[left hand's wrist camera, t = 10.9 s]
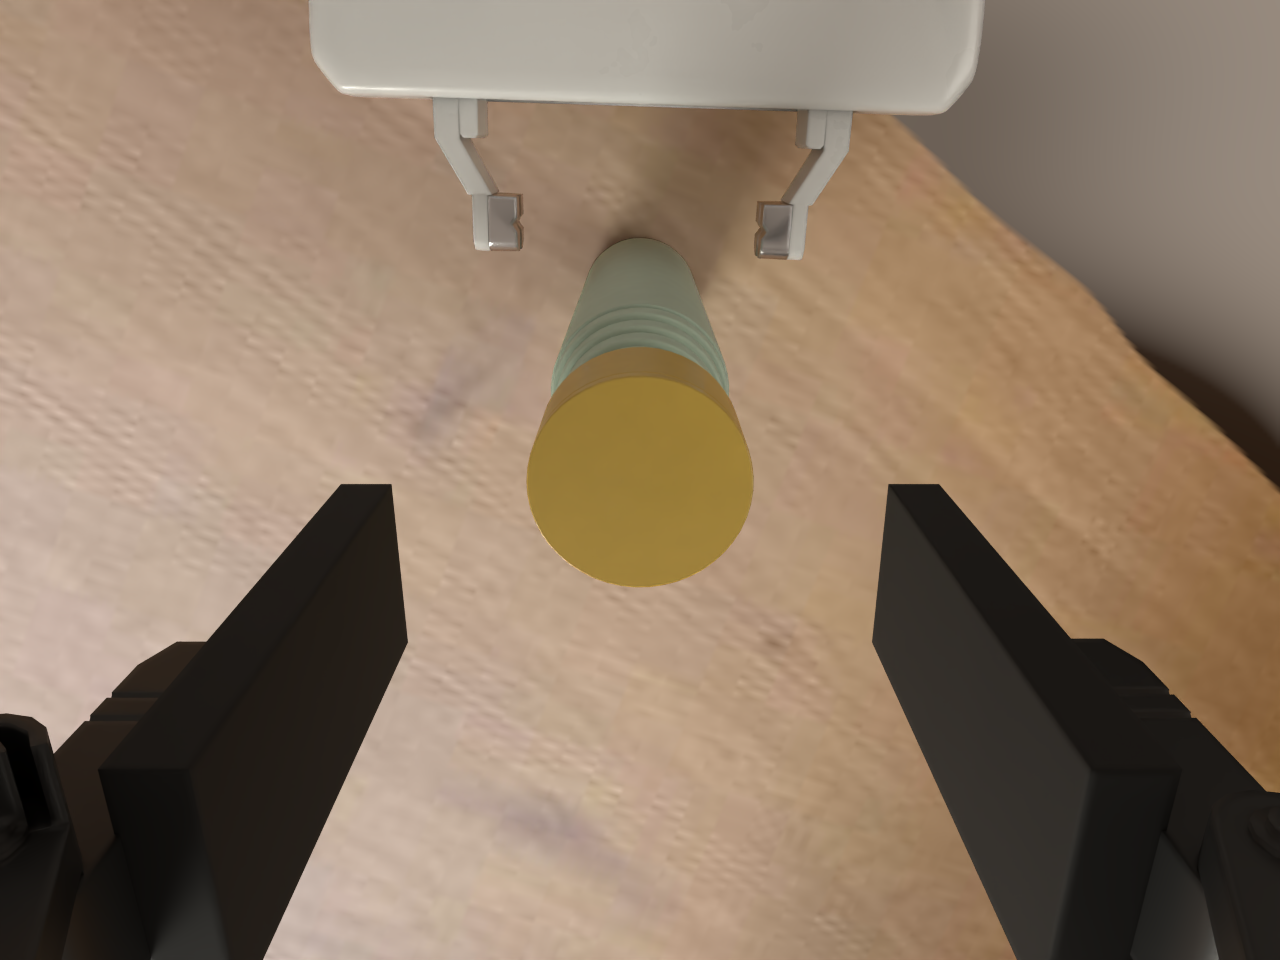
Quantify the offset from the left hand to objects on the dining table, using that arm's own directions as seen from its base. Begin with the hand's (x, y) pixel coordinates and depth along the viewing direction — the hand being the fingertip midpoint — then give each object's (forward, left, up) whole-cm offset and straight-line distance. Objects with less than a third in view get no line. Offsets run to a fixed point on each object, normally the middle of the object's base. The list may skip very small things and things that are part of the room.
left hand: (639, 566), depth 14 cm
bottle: (0, 0, -25) cm, 25 cm away
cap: (0, 0, -4) cm, 4 cm away
